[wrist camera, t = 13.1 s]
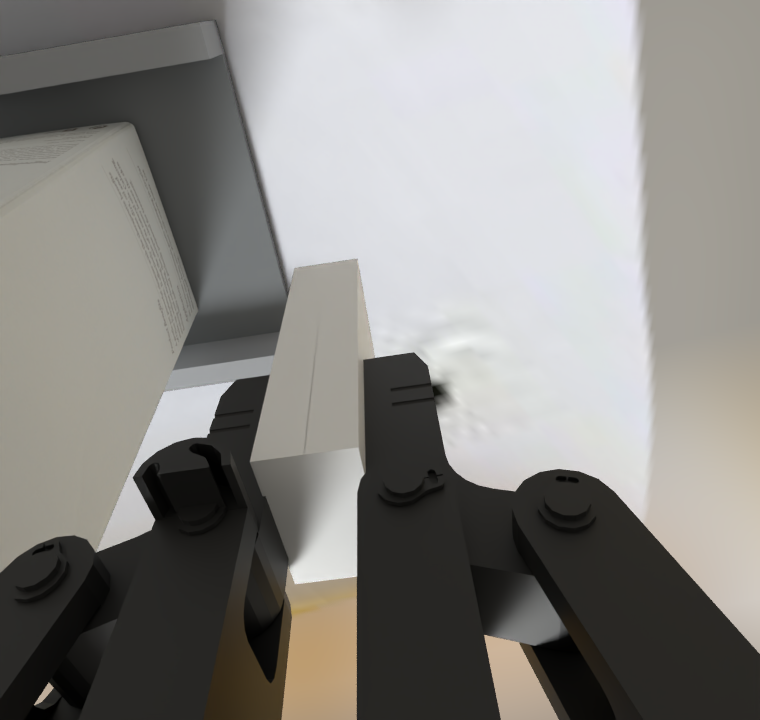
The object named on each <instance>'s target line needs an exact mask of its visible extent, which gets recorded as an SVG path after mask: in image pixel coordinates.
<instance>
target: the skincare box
mask: <svg viewBox="0 0 760 720" xmlns="http://www.w3.org/2000/svg"><path fill="white" fill-rule="evenodd" d="M197 312H198V308H197V305H196V301H195V298H194V296H193V293H192V290H191V287H190V284H189V281H188V278H187V275H186V272H185V269H184V266H183V263H182V260H181V257H180V255H179V252H178V249H177V246H176V243H175V240H174V237H173V234H172V231H171V229H170V226H169V223H168V220H167V217H166V214H165V211H164V208H163V205H162V203H161V200H160V197H159V194H158V191H157V188H156V185H155V182H154V180H153V177H152V174H151V171H150V168H149V165H148V162H147V159H146V157H145V154H144V151H143V148H142V146H141V143H140V140H139V137H138V135H137V132H136V130H135V127H134V125H133V124H131V123H129V122H119V123H109V124H101V125H93V126H85V127H77V128H69V129H62V130H55V131H48V132H40V133H33V134H26V135H19V136H12V137H6V138H0V573H1V572H2V571H3V570H4V569H5V568H6V567H7V566H8V565H9V564H10V563H11V562H12V561H13V560H14V559H16V558H17V557H18V556H19V555H21V554H23V553H24V552H26V551H27V550H29V549H30V548H32V547H34V546H35V545H37V544H39V543H42V542H45V541H47V540H50V539H53V538H55V537H62V536H72V535H75V536H78V537H81V538H84V539H87V540H88V542H89V543H90V545H91V546H92V547H93V549H94V550H95V552H96V551H97V548H98V546H99V544H100V541H101V539H102V536H103V534H104V532H105V529H106V527H107V524H108V522H109V520H110V517H111V515H112V513H113V510H114V508H115V505H116V503H117V501H118V498H119V496H120V493H121V491H122V489H123V486H124V484H125V482H126V479H127V477H128V475H129V472H130V470H131V468H132V465H133V463H134V460H135V458H136V456H137V453H138V451H139V448H140V446H141V444H142V441H143V439H144V436H145V434H146V432H147V429H148V427H149V425H150V422H151V420H152V418H153V415H154V413H155V411H156V408H157V406H158V404H159V401H160V399H161V397H162V394H163V392H164V389H165V387H166V385H167V382H168V380H169V377H170V375H171V373H172V370H173V368H174V366H175V363H176V361H177V359H178V356H179V354H180V352H181V349H182V347H183V344H184V342H185V339H186V337H187V335H188V333H189V330H190V328H191V326H192V323H193V321H194V319H195V316H196V314H197Z"/></svg>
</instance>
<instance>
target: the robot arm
mask: <svg viewBox="0 0 760 720" xmlns="http://www.w3.org/2000/svg"><path fill="white" fill-rule="evenodd" d="M133 479H134V481H135V483H136V485H137V487H138V489H139V490H140V492H141V494H142V496H143V498H144V500H145V502H146V503H147V505H148V507H149V509H150V511H151V513H152V515H153V516H154V518H155V522H154V525H153V527H152V530H151V531H148V532H146V533H144V534H142V535H140V536H138V537H135V538H133V539H130V540H128V541H125V542H123V543H120V544H117V545H115V546H112V547H110V548H107V549H104V550H102V551H99V552H97V553H96V552H95V550H94V549H93V547H92V546H91V545H90V543H89V542H88V540H87V539H84V538H81V537H78V536H75V535H72V536H62V537H55V538H53V539H50V540H47V541H45V542H42V543H39V544H37V545H35V546H34V547H32V548H30V549H29V550H27V551H26V552H24V553H23V554H21V555H19V556H18V557H17V558H16V559H14V560H13V561H12V562H11V563H10V564H9V565H8V566H7V567H6V568H5V569H4V570H3V571H2V572H1V573H0V720H281V717H282V708H283V698H284V687H285V678H286V669H287V658H288V648H289V639H290V629H291V619H292V616H291V607H290V602H289V600H288V597H287V595H286V592H285V586H286V577H287V569H288V566H289V569H290V571H291V574H292V577H293V580H294V582H295V584H301V583H309V582H317V581H325V580H333V579H341V578H349V577H357V720H501V718H500V713H499V708H498V703H497V699H496V693H495V688H494V683H493V678H492V673H491V669H490V664H489V658H488V653H487V649H486V643H485V638H484V635H488V636H493V637H497V638H502V639H506V640H511V641H516V642H519V643H520V645H521V647H522V649H523V651H524V653H525V655H526V657H527V659H528V661H529V663H530V665H531V667H532V669H533V670H534V672H535V674H536V676H537V678H538V680H539V682H540V684H541V686H542V688H543V689H544V692H545V694H546V695H547V697H548V699H549V701H550V703H551V705H552V707H553V709H554V711H555V713H556V714H557V716H558V719H559V720H760V654H759V653H758V652H757V651H756V649H755V648H754V647H753V646H752V645H751V644H750V643H749V642H748V641H747V639H746V638H745V637H744V636H743V635H742V634H741V633H740V632H739V631H738V629H737V628H736V627H735V626H734V625H733V624H732V623H731V622H730V620H729V619H728V618H727V617H726V616H725V615H724V614H723V613H722V611H721V610H720V609H719V608H718V607H717V606H716V605H715V604H714V603H713V602H712V600H711V599H710V598H709V597H708V596H707V595H706V594H705V593H704V591H703V590H702V589H701V588H700V587H699V586H698V585H697V584H696V582H695V581H694V580H693V579H692V578H691V577H690V576H689V575H688V574H687V573H686V571H685V570H684V569H683V568H682V567H681V566H680V565H679V564H678V562H677V561H676V560H675V559H674V558H673V557H672V556H671V555H670V553H669V552H668V551H667V550H666V549H665V548H664V547H663V546H662V545H661V543H660V542H659V541H658V540H657V539H656V538H655V537H654V536H653V534H652V533H651V532H650V531H649V530H648V529H647V528H646V527H645V526H644V524H643V523H642V522H641V521H640V520H639V519H638V518H637V517H636V515H635V514H634V513H633V512H632V511H631V510H630V509H629V508H628V507H627V505H626V504H625V503H624V502H623V501H622V500H621V499H620V498H619V497H618V495H617V494H616V493H615V492H614V491H613V490H611V489H610V488H609V487H608V486H606V485H605V484H604V483H603V482H601V481H600V480H599V479H597V478H594V477H592V476H589V475H587V474H584V473H582V472H579V471H570V470H562V469H557V470H550V471H544V472H539V473H537V474H535V475H533V476H532V477H530V478H528V479H526V480H524V481H523V482H522V484H521V485H520V486H519V488H518V489H517V490H516V491H515V492H514V491H507V490H499V489H492V488H487V487H483V486H478V485H476V484H474V483H472V482H469V481H467V480H465V479H464V478H462V477H461V476H460V475H458V474H457V473H456V472H455V471H454V470H453V469H452V467H451V466H450V465H449V463H448V461H447V458H446V455H445V451H444V446H443V441H442V436H441V431H440V426H439V421H438V415H437V410H436V405H435V401H434V395H433V390H432V386H431V380H430V375H429V370H428V366H427V365H426V364H425V363H424V362H423V361H422V360H421V359H420V358H419V357H418V356H417V355H416V354H415V353H407V354H400V355H393V356H386V357H379V358H375V355H374V349H373V343H372V338H371V332H370V327H369V321H368V315H367V310H366V304H365V299H364V293H363V287H362V282H361V276H360V271H359V265H358V259H352V260H345V261H338V262H332V263H325V264H318V265H312V266H305V267H299V268H295V269H294V273H293V277H292V282H291V286H290V290H289V295H288V299H287V303H286V308H285V312H284V316H283V321H282V325H281V329H280V334H279V338H278V342H277V347H276V351H275V355H274V360H273V364H272V368H271V372H270V375H265V376H258V377H251V378H244V379H237V380H236V381H235V382H234V383H233V384H232V385H231V386H230V387H229V388H228V390H227V391H226V392H225V393H224V394H223V395H222V396H221V398H220V401H219V404H218V407H217V410H216V412H215V418H214V419H213V421H212V424H211V427H210V434H208V436H207V438H191V439H187V440H183V441H180V442H176V443H174V444H172V445H170V446H168V447H166V448H164V449H162V450H160V451H158V452H156V453H155V454H154V455H153V456H151V457H150V458H149V459H148V460H147V461H145V462H144V463H143V464H142V465H141V467H140V468H139V469H138V471H137V472H136V474H135V475H134V476H133ZM48 682H49V683H50V684H51V685H52V686H53V687H54V688H53V690H52V691H51V692H50V693H49V695H48V696H47V697H46V698H45V699H44V700H43V701H42V702H41V703H39V704H37V705H35V706H34V704H35V702H36V701H37V699H38V698H39V696H40V695H41V693H42V692H43V690H44V689H45V687H46V686H47V684H48Z"/></svg>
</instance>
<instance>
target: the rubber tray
mask: <svg viewBox="0 0 760 720" xmlns="http://www.w3.org/2000/svg"><path fill="white" fill-rule="evenodd" d="M119 122H129V123H131V124H133V125H134V127H135V130H136V132H137V135H138V137H139V140H140V143H141V146H142V148H143V151H144V154H145V157H146V159H147V162H148V165H149V168H150V171H151V174H152V177H153V180H154V182H155V185H156V188H157V191H158V194H159V197H160V200H161V203H162V205H163V208H164V211H165V214H166V217H167V220H168V223H169V226H170V229H171V231H172V234H173V237H174V240H175V243H176V246H177V249H178V252H179V255H180V257H181V260H182V263H183V266H184V269H185V272H186V275H187V278H188V281H189V284H190V287H191V290H192V293H193V296H194V298H195V301H196V305H197V308H198V312H197V314H196V316H195V319H194V321H193V323H192V326H191V328H190V330H189V333H188V335H187V337H186V339H185V342H184V344H183V347H182V349H181V352H180V354H179V356H178V359H177V361H176V363H175V366H174V368H173V370H172V373H171V375H170V377H169V380H168V382H167V385H166V387H165V389H164V392H165V391H172V390H179V389H185V388H192V387H199V386H206V385H213V384H220V383H226V382H233V381H236V380H237V379H244V378H251V377H258V376H265V375H270V372H271V368H272V364H273V360H274V355H275V351H276V347H277V342H278V338H279V334H280V329H281V325H282V321H283V316H284V312H285V308H286V303H287V299H288V294H287V290H286V286H285V283H284V279H283V275H282V271H281V267H280V264H279V260H278V256H277V252H276V248H275V244H274V241H273V237H272V233H271V229H270V225H269V222H268V218H267V214H266V210H265V206H264V202H263V199H262V195H261V191H260V187H259V183H258V180H257V176H256V172H255V168H254V164H253V160H252V157H251V153H250V149H249V145H248V141H247V138H246V134H245V130H244V126H243V122H242V118H241V115H240V111H239V107H238V103H237V99H236V96H235V92H234V88H233V84H232V80H231V77H230V73H229V69H228V65H227V61H226V57H225V54H224V50H223V46H222V42H221V38H220V35H219V31H218V27H217V23H216V20H212V21H203V22H196V23H190V24H185V25H179V26H173V27H167V28H162V29H156V30H150V31H144V32H139V33H133V34H127V35H121V36H116V37H110V38H104V39H99V40H93V41H87V42H81V43H76V44H70V45H64V46H58V47H53V48H47V49H41V50H35V51H30V52H24V53H18V54H12V55H7V56H1V57H0V138H6V137H12V136H19V135H26V134H33V133H40V132H48V131H55V130H62V129H69V128H77V127H85V126H93V125H101V124H109V123H119Z"/></svg>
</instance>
